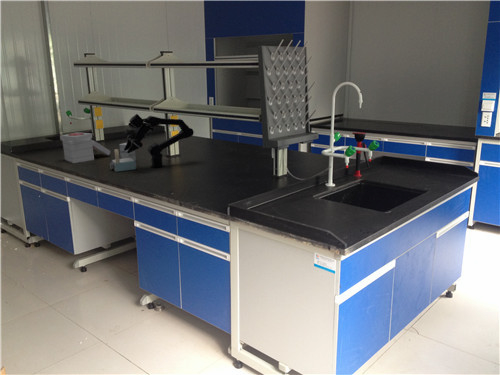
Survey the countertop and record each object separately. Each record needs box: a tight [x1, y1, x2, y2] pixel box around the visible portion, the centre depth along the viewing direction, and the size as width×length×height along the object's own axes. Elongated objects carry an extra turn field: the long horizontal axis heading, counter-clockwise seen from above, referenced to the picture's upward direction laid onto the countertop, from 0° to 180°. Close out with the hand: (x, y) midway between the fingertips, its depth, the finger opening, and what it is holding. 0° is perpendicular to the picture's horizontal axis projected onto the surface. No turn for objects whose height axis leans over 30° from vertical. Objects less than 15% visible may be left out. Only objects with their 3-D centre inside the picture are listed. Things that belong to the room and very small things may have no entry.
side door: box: [114, 148, 138, 173], centre depth 270 cm, size 13×2×14 cm, turn 118°
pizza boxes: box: [59, 131, 112, 164], centre depth 306 cm, size 19×30×18 cm, turn 133°
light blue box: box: [109, 158, 134, 172], centre depth 276 cm, size 14×10×6 cm
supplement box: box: [118, 142, 137, 162], centre depth 294 cm, size 7×7×13 cm
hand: (126, 151), depth 269 cm, fingers open, 9 cm apart
